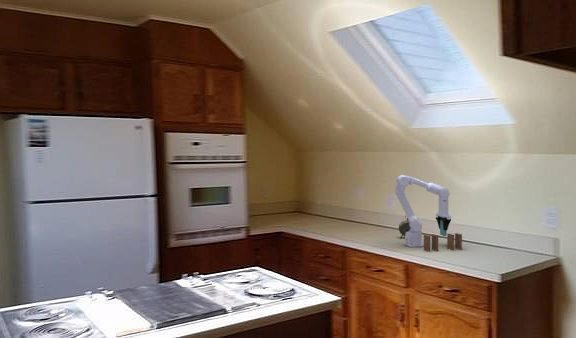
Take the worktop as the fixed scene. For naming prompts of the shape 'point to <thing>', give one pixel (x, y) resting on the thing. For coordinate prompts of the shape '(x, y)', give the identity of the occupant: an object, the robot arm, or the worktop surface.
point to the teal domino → (442, 229)
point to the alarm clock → (404, 227)
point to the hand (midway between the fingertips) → (443, 229)
